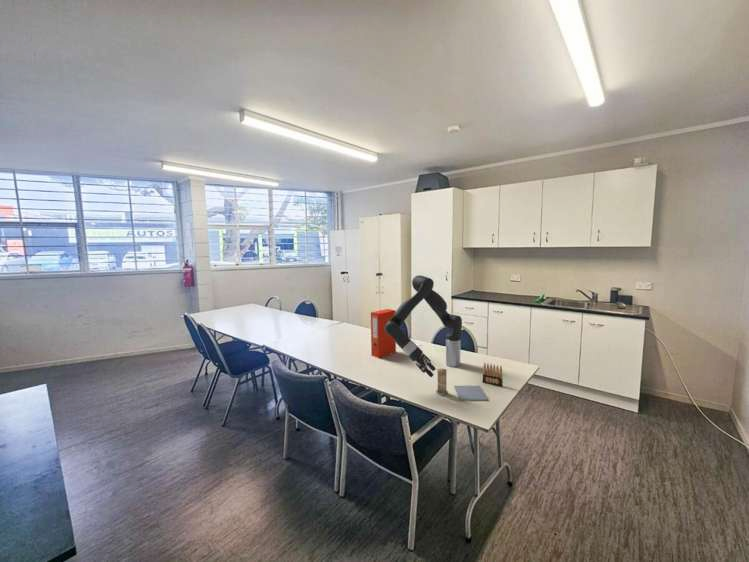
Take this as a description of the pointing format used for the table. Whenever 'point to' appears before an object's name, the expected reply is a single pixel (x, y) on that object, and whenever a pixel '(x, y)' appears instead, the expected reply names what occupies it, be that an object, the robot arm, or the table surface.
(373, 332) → the file binder
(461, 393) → the slate mat
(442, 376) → the tan ribbed cylinder
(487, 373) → the ammunition clip
